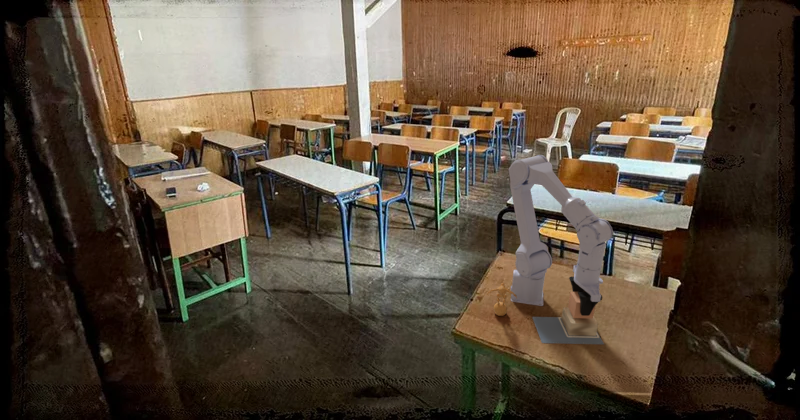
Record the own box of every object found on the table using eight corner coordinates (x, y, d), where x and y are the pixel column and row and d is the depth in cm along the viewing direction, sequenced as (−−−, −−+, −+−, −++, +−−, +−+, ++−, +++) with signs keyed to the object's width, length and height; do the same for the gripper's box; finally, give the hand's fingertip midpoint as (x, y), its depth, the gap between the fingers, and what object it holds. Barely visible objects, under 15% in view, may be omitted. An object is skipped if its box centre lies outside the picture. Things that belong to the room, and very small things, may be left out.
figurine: (514, 312, 122) (518, 277, 118) (514, 325, 117) (518, 289, 112) (485, 308, 124) (488, 274, 119) (484, 321, 119) (487, 285, 114)
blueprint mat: (541, 344, 110) (542, 342, 109) (531, 317, 120) (532, 316, 119) (604, 345, 109) (604, 344, 108) (588, 318, 119) (589, 317, 119)
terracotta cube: (573, 318, 111) (576, 302, 109) (567, 306, 115) (570, 291, 113) (593, 318, 110) (596, 302, 109) (586, 307, 115) (589, 291, 113)
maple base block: (569, 335, 112) (571, 323, 110) (561, 319, 118) (563, 307, 117) (595, 335, 111) (598, 323, 110) (586, 319, 118) (588, 307, 116)
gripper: (617, 280, 100) (607, 325, 105) (594, 251, 114) (586, 293, 119) (587, 280, 101) (578, 325, 106) (568, 251, 114) (561, 292, 119)
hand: (581, 308), depth 112 cm, fingers closed on terracotta cube, 5 cm apart
